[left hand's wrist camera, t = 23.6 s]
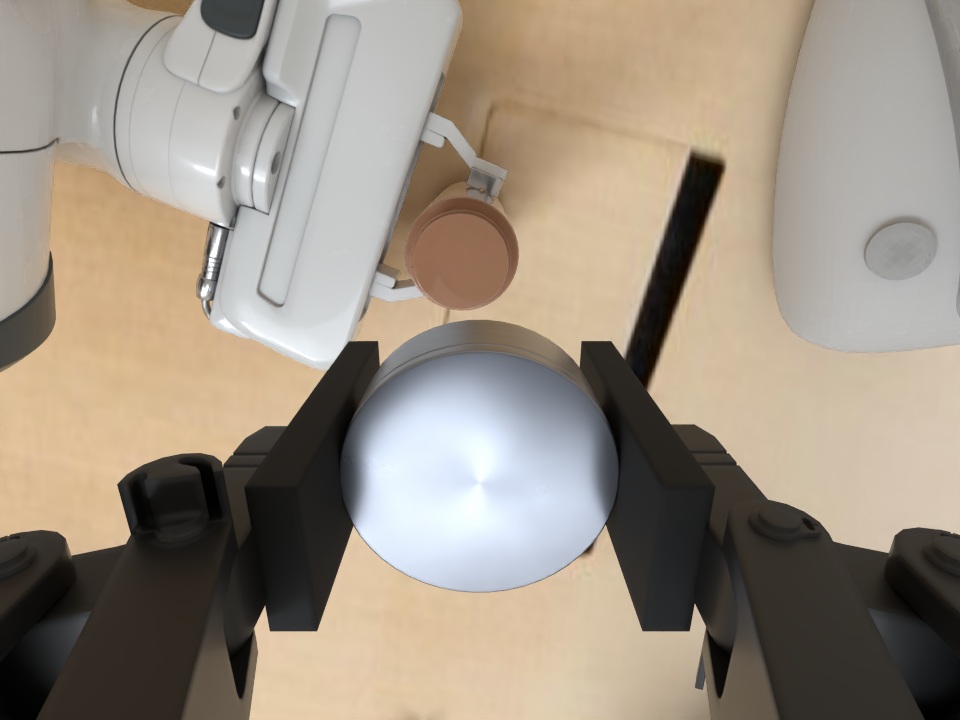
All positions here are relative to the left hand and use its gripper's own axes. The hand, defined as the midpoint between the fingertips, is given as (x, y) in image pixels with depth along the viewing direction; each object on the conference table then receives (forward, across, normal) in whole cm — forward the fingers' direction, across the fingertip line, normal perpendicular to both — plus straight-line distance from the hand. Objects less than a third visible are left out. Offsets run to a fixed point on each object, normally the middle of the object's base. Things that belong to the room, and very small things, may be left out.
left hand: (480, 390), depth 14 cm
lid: (-4, 0, 0) cm, 4 cm away
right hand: (+17, 0, -2) cm, 17 cm away
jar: (+23, +1, -2) cm, 23 cm away
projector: (+23, -25, -7) cm, 35 cm away
